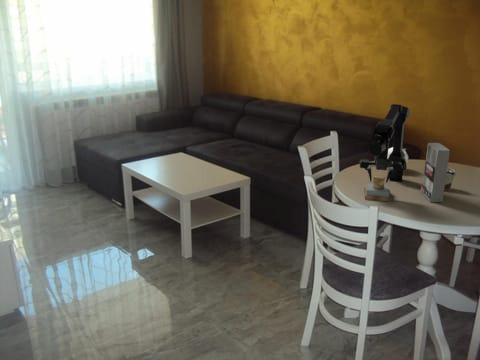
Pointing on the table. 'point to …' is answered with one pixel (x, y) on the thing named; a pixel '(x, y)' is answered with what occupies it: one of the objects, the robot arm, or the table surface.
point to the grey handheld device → (435, 172)
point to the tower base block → (376, 197)
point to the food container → (449, 178)
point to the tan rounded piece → (378, 182)
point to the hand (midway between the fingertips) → (378, 182)
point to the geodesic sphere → (402, 150)
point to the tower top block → (377, 191)
